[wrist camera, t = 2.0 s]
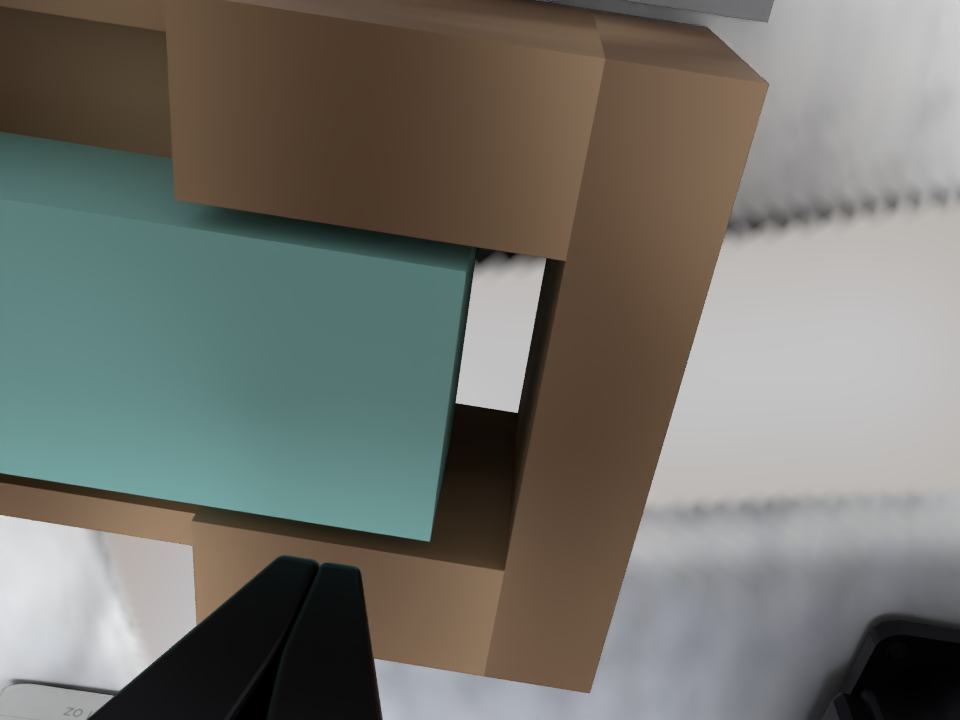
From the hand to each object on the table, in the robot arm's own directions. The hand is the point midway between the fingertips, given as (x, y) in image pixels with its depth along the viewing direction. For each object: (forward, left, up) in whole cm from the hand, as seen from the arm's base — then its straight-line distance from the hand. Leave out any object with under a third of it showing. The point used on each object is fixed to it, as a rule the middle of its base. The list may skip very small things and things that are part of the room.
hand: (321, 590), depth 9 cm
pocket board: (+3, 0, -8) cm, 8 cm away
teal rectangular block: (+3, 0, -6) cm, 7 cm away
